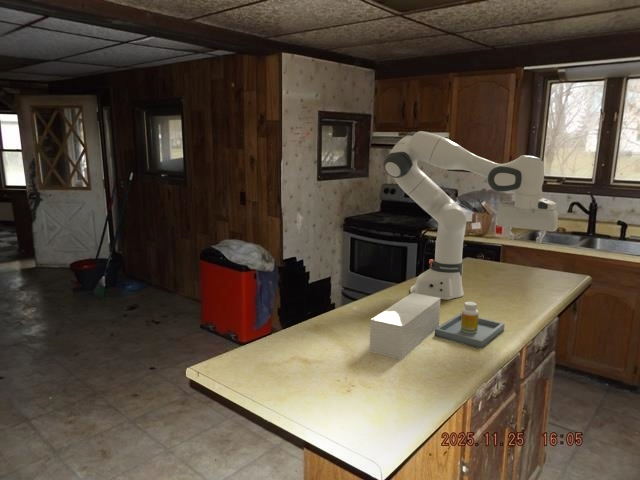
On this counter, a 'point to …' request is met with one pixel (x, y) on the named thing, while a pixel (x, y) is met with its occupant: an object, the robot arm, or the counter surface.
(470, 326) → the supplement bottle
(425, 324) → the light grey rectangular block
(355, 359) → the counter surface
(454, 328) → the slate tray
